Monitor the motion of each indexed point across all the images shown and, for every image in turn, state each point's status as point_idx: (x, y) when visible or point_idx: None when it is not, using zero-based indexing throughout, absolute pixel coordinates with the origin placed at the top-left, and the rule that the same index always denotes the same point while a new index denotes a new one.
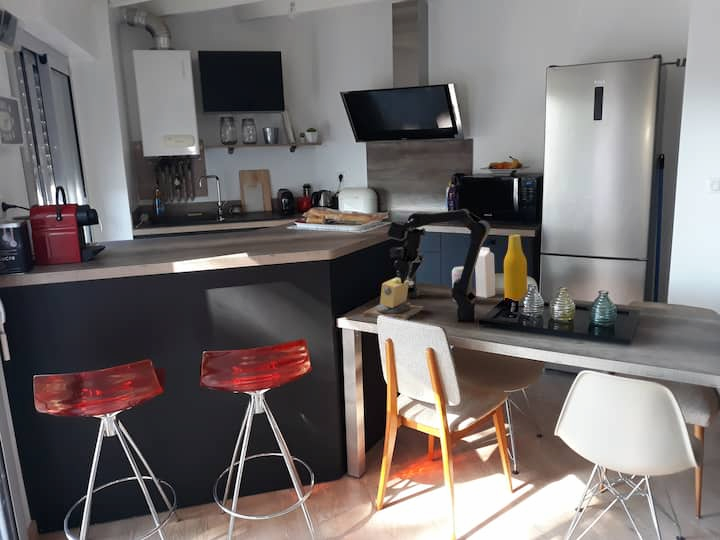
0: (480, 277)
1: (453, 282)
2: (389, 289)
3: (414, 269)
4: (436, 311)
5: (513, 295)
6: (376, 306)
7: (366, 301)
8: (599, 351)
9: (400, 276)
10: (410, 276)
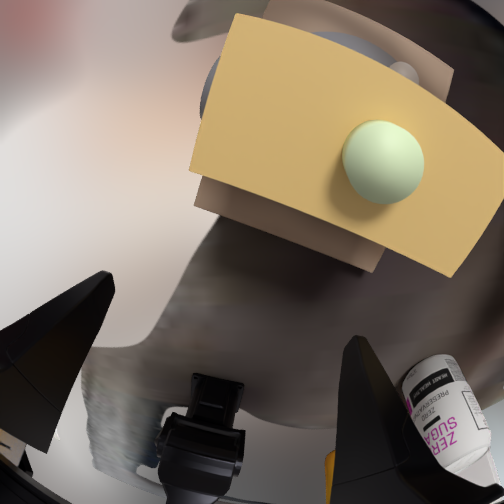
0: None
1: (447, 412)
2: (203, 108)
3: (347, 453)
4: (332, 316)
5: (328, 476)
6: (393, 35)
7: (494, 24)
8: (108, 455)
9: (39, 310)
10: (352, 356)
